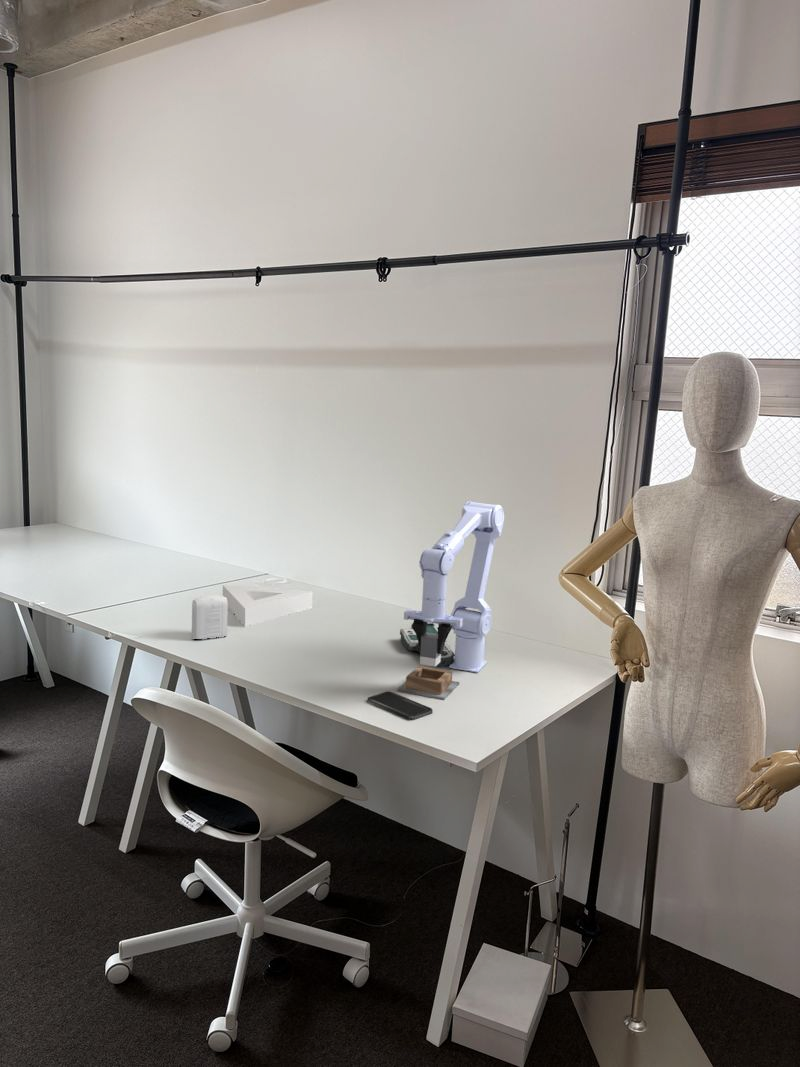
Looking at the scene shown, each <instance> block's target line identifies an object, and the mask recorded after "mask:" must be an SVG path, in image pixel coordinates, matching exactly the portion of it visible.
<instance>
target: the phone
mask: <svg viewBox="0 0 800 1067" xmlns="http://www.w3.org/2000/svg"><path fill="white" fill-rule="evenodd" d="M366 702H367V703H368V702H369V704H370V703H371V704H370V705H373V706H376V707H377V708H380V709H383V710H385V711H387V712H389V713H392V714H393V715H395V716H398V717H400V718H403V719H406V720H407V721H415V720H417V719H420V718H423V717H427V716H429V715H432V714H433V708H432V707H429V706H427V705H424V704H422V703H420V702H417V701H415V700H413V699H410V698H408V697H406V696H403V695H400V694H398V693H395V692H393V691H388V690H387V691H384V692H379V693H378V694H373V695H371V696H368V697H367V700H366Z"/></svg>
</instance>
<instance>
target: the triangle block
mask: <svg viewBox="0 0 800 1067" xmlns="http://www.w3.org/2000/svg"><path fill="white" fill-rule="evenodd" d="M313 593H314V592H313V591H312V590H310V591H309V590H297V589H284V588H283V589H282V588H273V587H256V586H240V585H227V584H222V596H224V597H226V598H227V602H228V608H229V609H230V610H231V611H232V612H233V613H234V614H235V615H234V614H233V613H232V612H231V611H230V610H229V609H228V610H229V611H230V612H231V613H232V614H233V615H234V617H235V616H236V617H237V618H238V619H239V620H240V621H241V622H242V623H241V622H240V621H239V620H238V619H237V618H236V619H237V620H238V621H239V622H240V623H241V625H242V626H243V625H244V626H245V627H244V626H243V627H244V628H247V627H246V626H248V627H250V626H249V625H252V626H254V625H253V624H255V625H257V624H256V623H259V624H261V623H260V622H263V623H265V622H264V621H266V622H268V621H267V620H270V621H272V620H271V619H273V620H275V619H274V618H277V619H279V618H278V617H280V618H282V617H281V616H284V617H286V616H285V615H287V616H289V615H288V614H291V615H293V614H292V613H294V614H296V612H298V613H300V611H301V612H304V611H303V610H305V611H308V610H311V608H312V609H313ZM307 609H308V610H307Z"/></svg>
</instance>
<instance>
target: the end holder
mask: <svg viewBox="0 0 800 1067" xmlns="http://www.w3.org/2000/svg"><path fill="white" fill-rule="evenodd" d="M459 685H460V682H459V681H454V680H453V671H451V670H445V669H439V668H434V667H429V666H424V665H423V666H422V665H417V667H415V669H413V670H412V671H411V672H410V673H409V674H408V675H406V677H405V682H404V683H403V684H402V685H401V686H400V687H398V688H397V692H401V693H406V694H411V695H417V696H421V697H427V698H433V699H436V700H437V699H439V700H442V701H445V700H446V699H448V696H450V695H451V694H452V692H454V690H455V689H457V687H458V686H459Z"/></svg>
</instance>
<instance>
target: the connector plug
mask: <svg viewBox="0 0 800 1067" xmlns="http://www.w3.org/2000/svg"><path fill="white" fill-rule="evenodd" d="M437 648H438V634H434V633H428V632H426V633H425V634H424V635H423V636H421V651H420V652H419V654H420V655H419V665H421V666H422V665H423V666H427V667H433V668H434V667H436V666H437V665H438V664H439V663H440V661H441V654H438V652H437Z"/></svg>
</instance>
